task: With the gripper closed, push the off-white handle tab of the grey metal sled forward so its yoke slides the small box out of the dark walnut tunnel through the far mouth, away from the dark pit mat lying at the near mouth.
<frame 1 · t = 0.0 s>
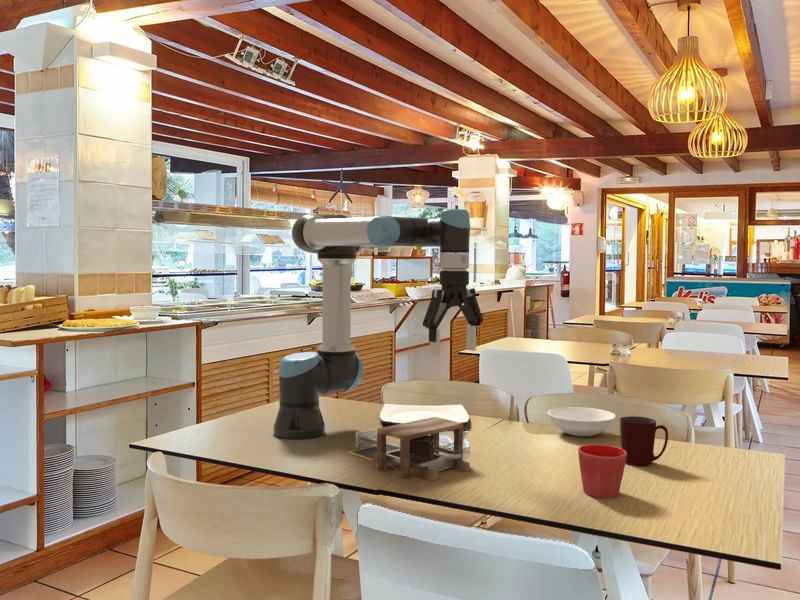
hand: (453, 352, 195), 28 cm above the table, fingers open, 13 cm apart
tunnel: (420, 465, 190), on the table
bowl: (580, 435, 225), on the table
box: (420, 467, 190), on the table
sled: (400, 449, 196), point 3 cm above the table, slide at 0.0 cm
plate: (424, 421, 243), on the table
pit mat: (377, 452, 202), on the table
flower pot: (601, 493, 171), on the table
mug: (642, 463, 195), on the table
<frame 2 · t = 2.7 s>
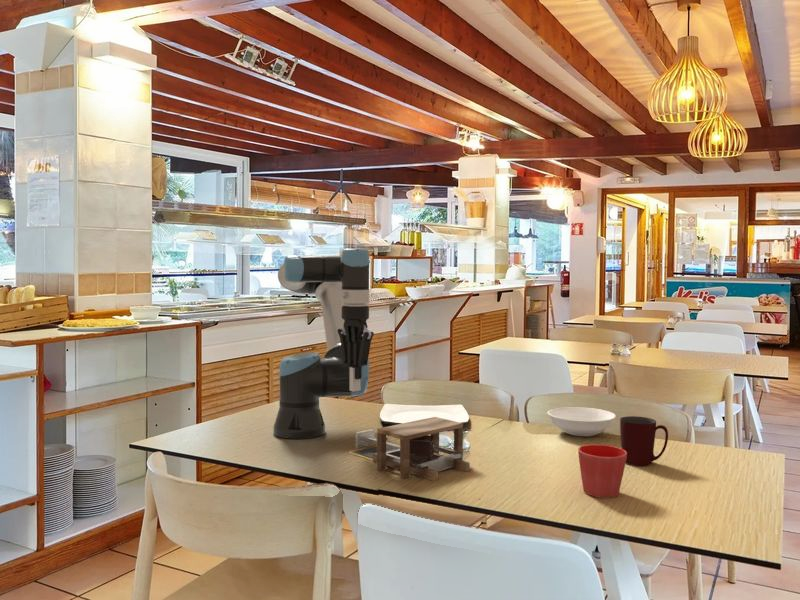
hand: (355, 390, 208), 16 cm above the table, fingers closed
nothing on the table moved.
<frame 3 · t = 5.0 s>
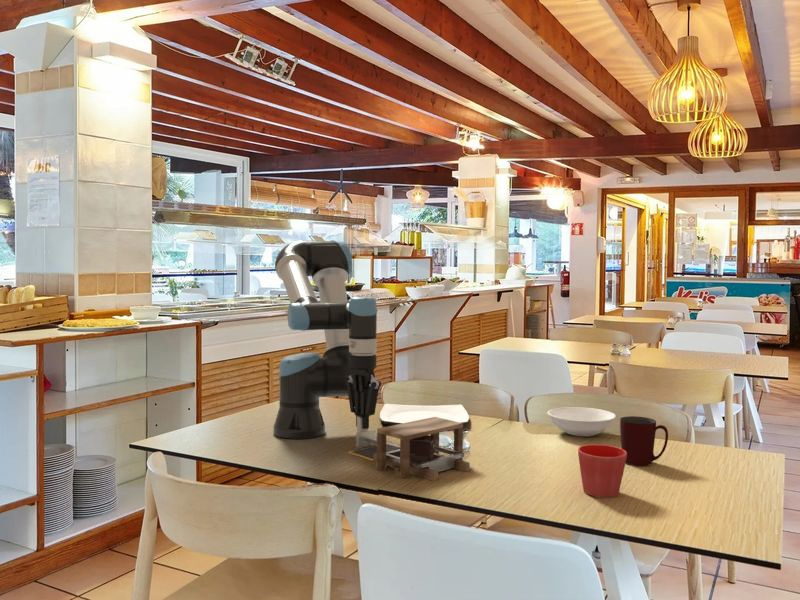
hand: (362, 439, 207), 2 cm above the table, fingers closed
sled: (401, 449, 195), point 3 cm above the table, slide at 0.3 cm, touching gripper
everything else where it was.
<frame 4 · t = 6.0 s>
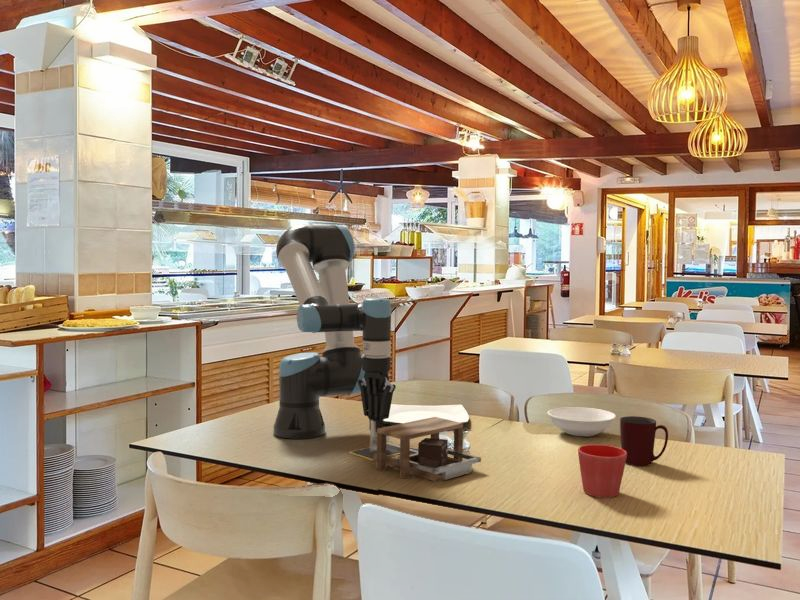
hand: (376, 443, 202), 2 cm above the table, fingers closed
box: (432, 471, 187), on the table
sled: (416, 454, 191), point 3 cm above the table, slide at 5.9 cm, touching gripper
everything else where it was.
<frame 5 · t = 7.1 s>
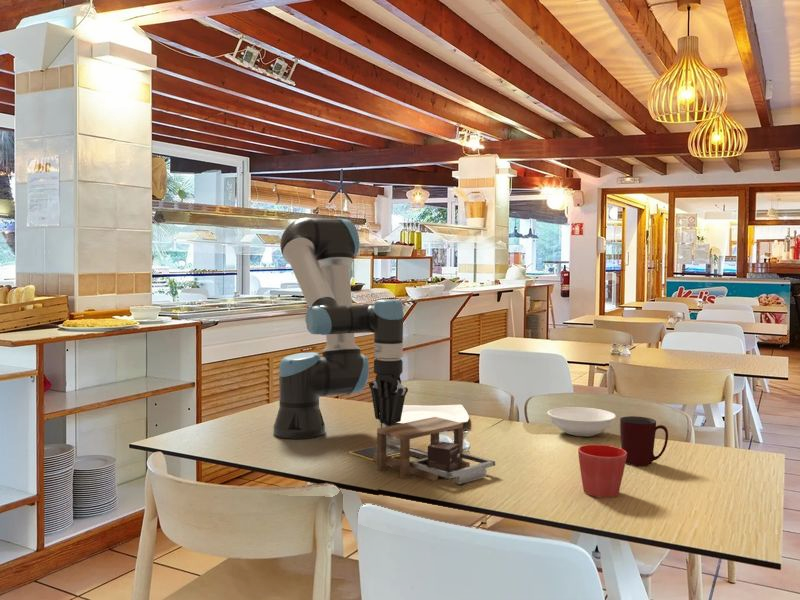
hand: (387, 447, 199), 2 cm above the table, fingers closed
box: (443, 475, 183), on the table, touching sled
sled: (429, 457, 188), point 3 cm above the table, slide at 10.4 cm, touching box, gripper
everything else where it was.
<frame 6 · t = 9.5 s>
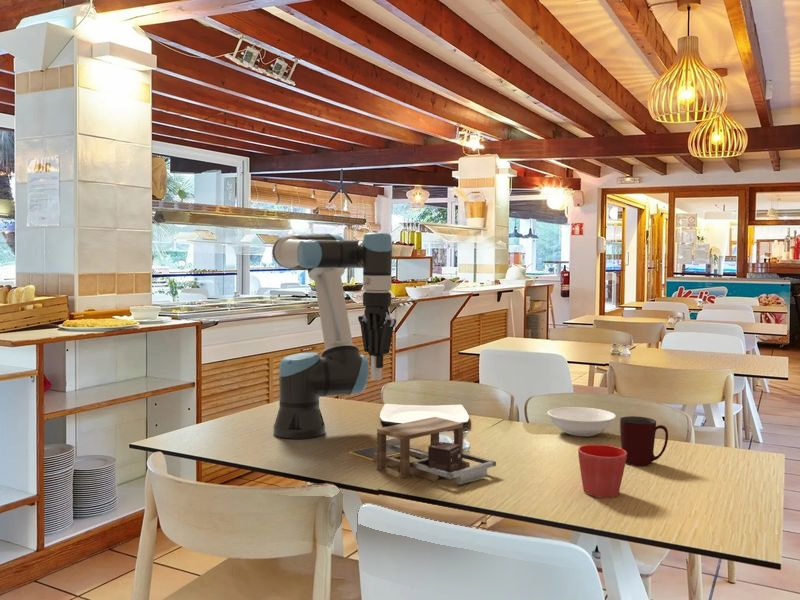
hand: (376, 379, 202), 20 cm above the table, fingers closed
box: (444, 476, 183), on the table
sled: (429, 458, 188), point 3 cm above the table, slide at 10.7 cm
everything else where it was.
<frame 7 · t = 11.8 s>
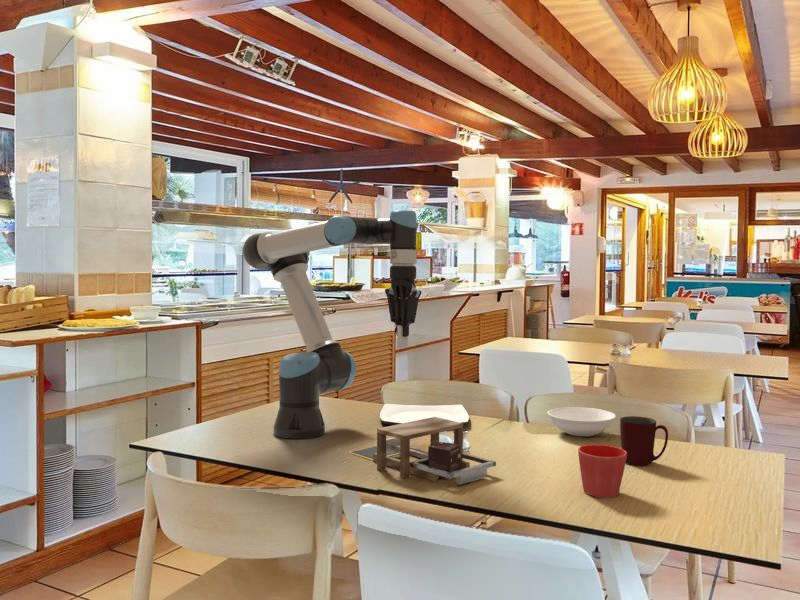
hand: (402, 347, 216), 26 cm above the table, fingers closed
nothing on the table moved.
at the end: box inside the target area (5.8 cm from its centre), on the table; sled slide at 10.7 cm; box tilted 0° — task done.
